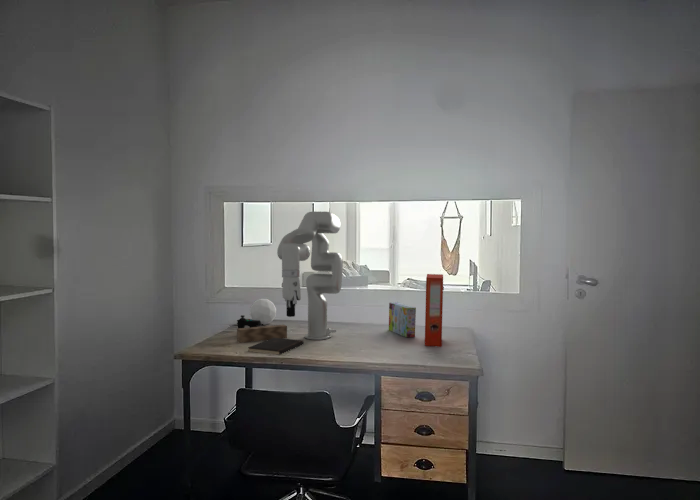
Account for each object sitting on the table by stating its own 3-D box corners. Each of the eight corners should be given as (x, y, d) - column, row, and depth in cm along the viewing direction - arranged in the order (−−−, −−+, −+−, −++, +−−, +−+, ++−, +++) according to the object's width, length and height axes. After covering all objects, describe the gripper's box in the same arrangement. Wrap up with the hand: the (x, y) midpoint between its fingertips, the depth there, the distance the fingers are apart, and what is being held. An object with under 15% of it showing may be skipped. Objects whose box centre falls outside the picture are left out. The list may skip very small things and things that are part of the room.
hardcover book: (247, 352, 260) (247, 347, 259) (273, 342, 281) (273, 337, 281) (279, 356, 254) (279, 350, 253) (303, 345, 275) (303, 340, 275)
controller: (239, 334, 297) (239, 314, 296) (262, 335, 294) (262, 315, 293) (235, 335, 292) (235, 316, 292) (258, 337, 289) (258, 317, 289)
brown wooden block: (283, 336, 292) (283, 324, 291) (286, 338, 288) (286, 325, 288) (237, 341, 280) (237, 328, 280) (239, 342, 277) (239, 330, 277)
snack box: (416, 337, 292) (416, 307, 291) (406, 338, 290) (406, 307, 289) (397, 329, 312) (397, 301, 311) (387, 330, 310) (388, 301, 309)
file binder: (442, 339, 288) (443, 274, 286) (442, 346, 271) (443, 278, 269) (425, 338, 289) (426, 274, 287) (424, 346, 272) (425, 277, 270)
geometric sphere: (269, 333, 323) (277, 314, 316) (243, 324, 321) (251, 305, 313) (274, 317, 335) (282, 298, 328) (249, 308, 333) (256, 289, 325)
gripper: (305, 275, 245) (305, 318, 246) (292, 271, 258) (292, 313, 259) (289, 275, 242) (289, 319, 243) (276, 272, 255) (276, 314, 256)
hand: (290, 316), depth 251 cm, fingers closed
